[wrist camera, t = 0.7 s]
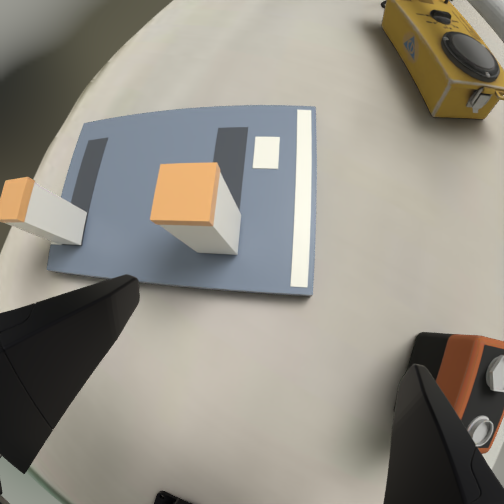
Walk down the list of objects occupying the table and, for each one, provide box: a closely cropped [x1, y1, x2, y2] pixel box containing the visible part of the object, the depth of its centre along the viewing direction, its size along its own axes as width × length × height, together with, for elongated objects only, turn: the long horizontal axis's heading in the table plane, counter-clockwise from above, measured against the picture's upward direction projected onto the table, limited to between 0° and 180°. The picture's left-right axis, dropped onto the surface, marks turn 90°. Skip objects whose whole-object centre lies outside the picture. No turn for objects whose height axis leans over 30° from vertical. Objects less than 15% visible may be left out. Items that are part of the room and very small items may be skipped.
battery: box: [394, 332, 504, 454], centre depth 15 cm, size 4×7×10 cm, turn 163°
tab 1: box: [0, 177, 87, 245], centre depth 21 cm, size 3×3×8 cm
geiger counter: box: [381, 0, 504, 119], centre depth 20 cm, size 9×26×15 cm, turn 7°
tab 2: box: [150, 162, 241, 255], centre depth 19 cm, size 3×3×8 cm
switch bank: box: [47, 105, 317, 296], centre depth 25 cm, size 16×24×2 cm, turn 85°
